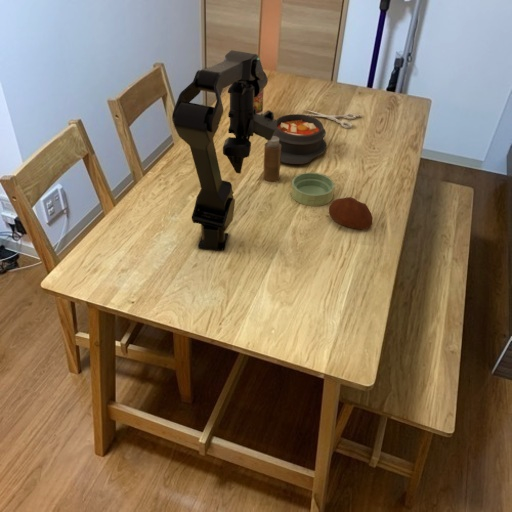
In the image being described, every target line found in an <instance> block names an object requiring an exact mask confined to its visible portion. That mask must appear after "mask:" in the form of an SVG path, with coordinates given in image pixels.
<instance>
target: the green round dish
mask: <svg viewBox="0 0 512 512" xmlns="http://www.w3.org/2000/svg"><path fill="white" fill-rule="evenodd" d="M334 193H335V182H334V181H333V179H332V178H330V177H329V176H327V175H326V174H323V173H319V172H311V171H310V172H303V173H299V174H297V175H295V176H294V177H293V178H292V180H291V186H290V195H291V197H292V199H293V200H294V201H296V202H297V203H300V204H301V205H304V206H309V207H319V206H320V207H321V206H325V205H328V204H329V203H331V201H332V200H333V198H334Z"/></svg>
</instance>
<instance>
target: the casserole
mask: <svg viewBox="0 0 512 512" xmlns="http://www.w3.org/2000/svg"><path fill="white" fill-rule="evenodd" d="M275 120H276V122H277V127H276V130H275V132H274V134H273V136H277V137H278V138H279V143H280V144H281V159H280V163H284V164H291V165H305V164H308V163H309V162H311V161H312V160H313V159H314V158H316V157H318V156H320V155H323V153H324V152H325V151H326V150H327V142H326V140H325V137H326V134H327V133H326V129H325V127H324V124H323V123H322V122H321V121H320V120H319V119H318V118H316V117H314V116H312V115H305V114H301V113H300V114H299V113H297V114H296V113H292V114H286V115H282V116H279V117H277V119H275Z"/></svg>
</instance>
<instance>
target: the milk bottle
mask: <svg viewBox="0 0 512 512" xmlns="http://www.w3.org/2000/svg"><path fill="white" fill-rule="evenodd" d="M257 60H260V61H261V59H260V58H259V57H258V59H257ZM264 89H265V88H264ZM264 89H263V90H262V91H261V92H260V93H259V94H258V96H256V97H255V98H254V107H255V108H256V114H259V115H261V114H264Z"/></svg>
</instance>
